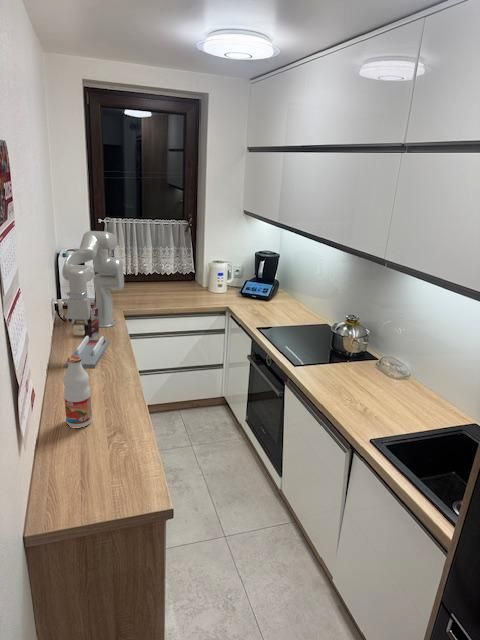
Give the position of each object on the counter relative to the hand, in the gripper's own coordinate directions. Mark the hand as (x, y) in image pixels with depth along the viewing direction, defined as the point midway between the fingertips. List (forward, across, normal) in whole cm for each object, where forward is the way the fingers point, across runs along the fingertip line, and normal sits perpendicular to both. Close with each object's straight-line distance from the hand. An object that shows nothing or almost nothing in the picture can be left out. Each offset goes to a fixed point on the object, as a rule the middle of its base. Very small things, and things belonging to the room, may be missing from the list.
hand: (81, 331), depth 212 cm
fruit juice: (+17, +13, -51) cm, 56 cm away
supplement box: (+18, -5, +35) cm, 39 cm away
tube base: (+17, 0, +10) cm, 20 cm away
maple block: (0, 0, -2) cm, 2 cm away
